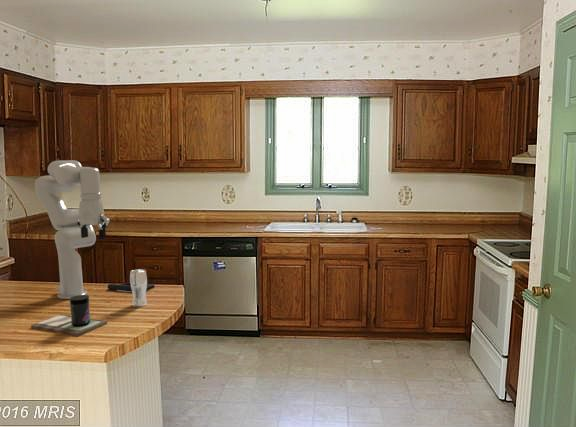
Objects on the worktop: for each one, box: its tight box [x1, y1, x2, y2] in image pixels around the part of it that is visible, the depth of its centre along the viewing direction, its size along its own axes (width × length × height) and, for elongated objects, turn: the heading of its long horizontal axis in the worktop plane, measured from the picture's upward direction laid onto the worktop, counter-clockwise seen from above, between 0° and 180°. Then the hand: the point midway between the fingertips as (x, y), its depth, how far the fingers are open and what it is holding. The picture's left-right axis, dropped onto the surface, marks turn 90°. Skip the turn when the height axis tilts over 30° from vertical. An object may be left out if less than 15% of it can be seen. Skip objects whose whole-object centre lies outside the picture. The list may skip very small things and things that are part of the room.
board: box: [30, 313, 108, 337], centre depth 186 cm, size 24×14×1 cm, turn 67°
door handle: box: [107, 282, 155, 293], centre depth 239 cm, size 3×20×16 cm
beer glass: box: [129, 268, 148, 308], centre depth 211 cm, size 7×7×15 cm
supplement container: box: [69, 294, 91, 327], centre depth 184 cm, size 7×7×10 cm
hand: (93, 238), depth 204 cm, fingers open, 9 cm apart
